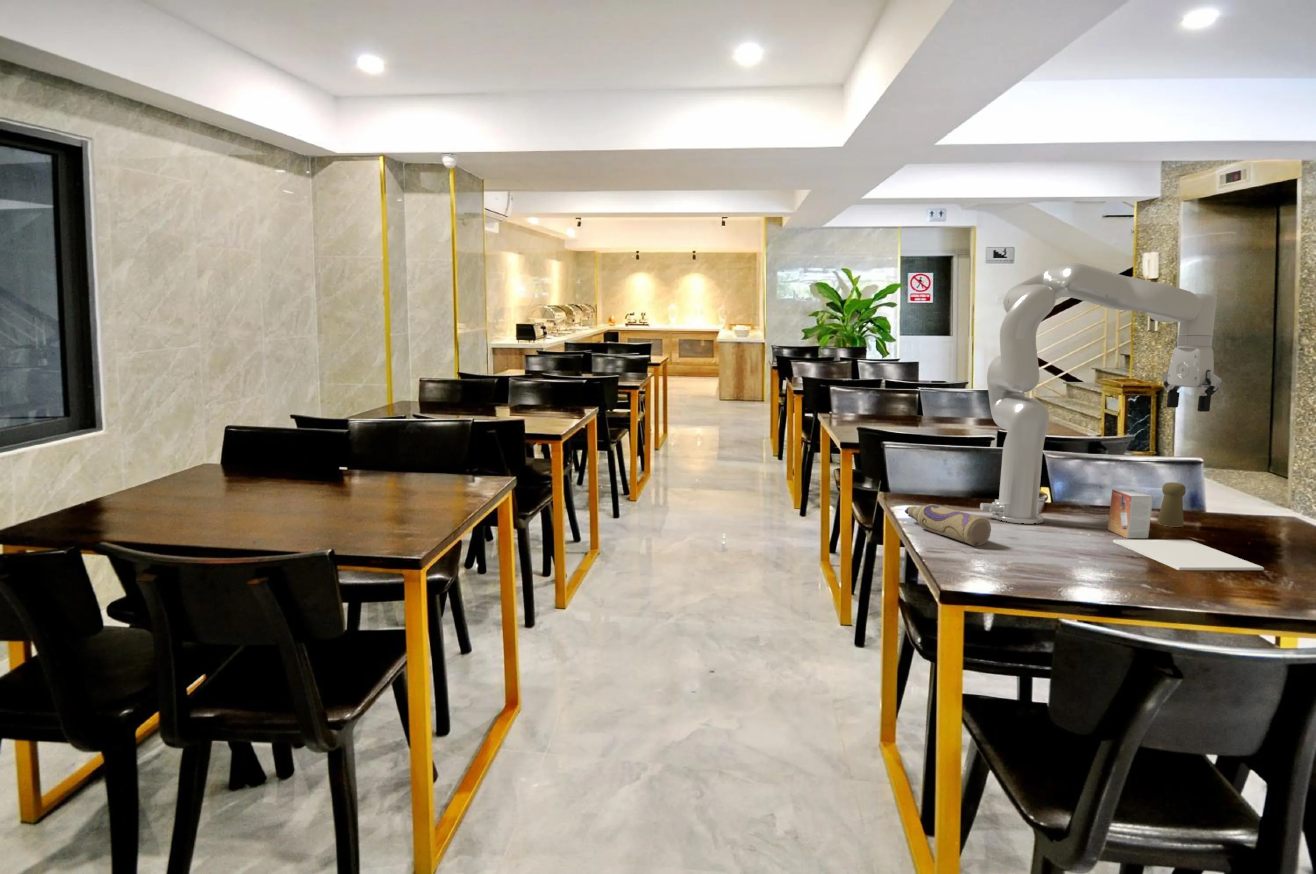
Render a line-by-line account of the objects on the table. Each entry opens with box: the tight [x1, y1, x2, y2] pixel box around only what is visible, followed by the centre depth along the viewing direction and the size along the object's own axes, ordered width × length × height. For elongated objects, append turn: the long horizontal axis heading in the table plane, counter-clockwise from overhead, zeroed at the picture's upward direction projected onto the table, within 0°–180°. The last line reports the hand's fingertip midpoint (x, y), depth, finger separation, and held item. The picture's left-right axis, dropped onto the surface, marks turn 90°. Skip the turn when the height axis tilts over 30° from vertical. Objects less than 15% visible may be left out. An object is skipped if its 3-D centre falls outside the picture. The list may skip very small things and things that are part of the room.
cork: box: [1156, 481, 1186, 527], centre depth 226 cm, size 6×6×11 cm
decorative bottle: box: [904, 503, 992, 547], centre depth 212 cm, size 26×8×7 cm, turn 22°
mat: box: [1112, 539, 1265, 571], centre depth 196 cm, size 19×23×1 cm
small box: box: [1107, 488, 1154, 539], centre depth 214 cm, size 8×6×10 cm
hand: (1187, 409), depth 227 cm, fingers open, 9 cm apart
